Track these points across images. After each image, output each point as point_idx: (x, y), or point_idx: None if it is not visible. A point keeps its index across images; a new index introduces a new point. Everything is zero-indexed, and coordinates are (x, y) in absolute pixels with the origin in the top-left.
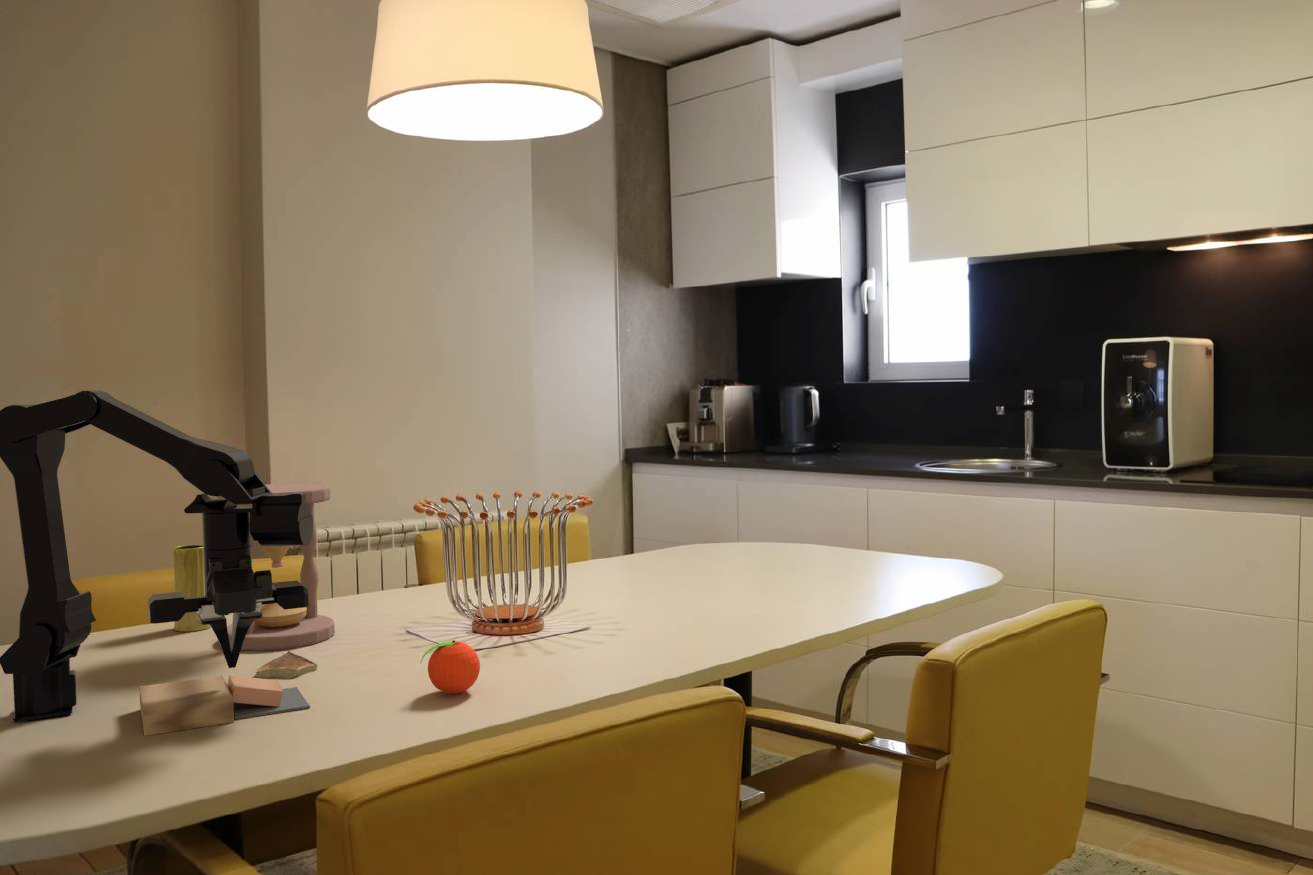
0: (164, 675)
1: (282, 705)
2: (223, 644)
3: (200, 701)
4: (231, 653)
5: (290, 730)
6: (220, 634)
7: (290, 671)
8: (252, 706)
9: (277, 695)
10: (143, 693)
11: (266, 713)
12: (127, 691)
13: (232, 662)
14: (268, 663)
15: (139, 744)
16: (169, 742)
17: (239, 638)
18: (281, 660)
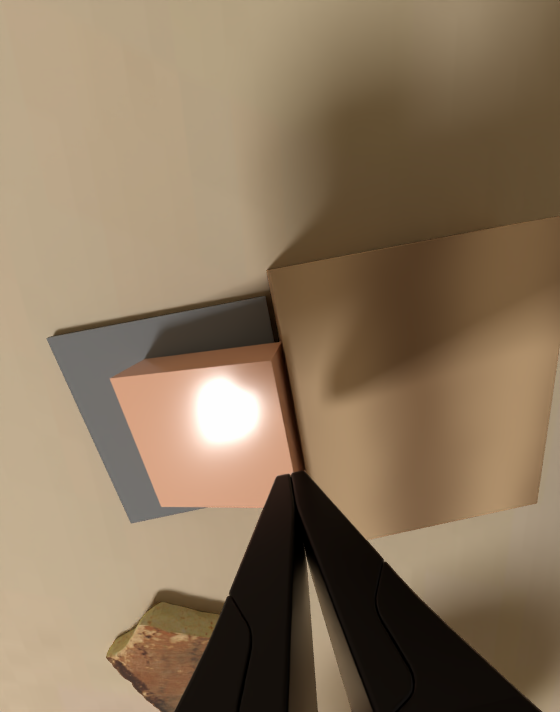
0: None
1: None
2: (368, 567)
3: (387, 268)
4: (302, 548)
5: (60, 84)
6: (441, 671)
7: (162, 620)
8: None
9: (135, 370)
10: (539, 434)
11: (177, 313)
12: (493, 581)
13: (291, 487)
14: None
15: (520, 139)
16: (442, 120)
17: (251, 631)
18: None
